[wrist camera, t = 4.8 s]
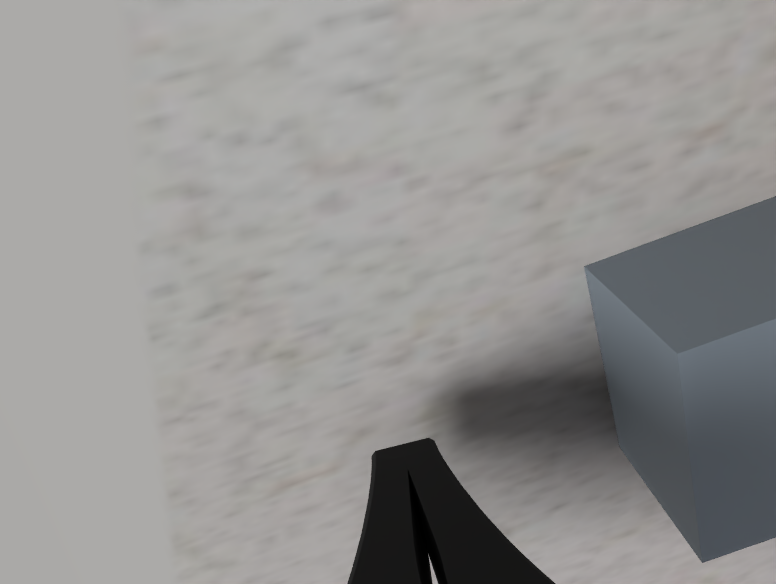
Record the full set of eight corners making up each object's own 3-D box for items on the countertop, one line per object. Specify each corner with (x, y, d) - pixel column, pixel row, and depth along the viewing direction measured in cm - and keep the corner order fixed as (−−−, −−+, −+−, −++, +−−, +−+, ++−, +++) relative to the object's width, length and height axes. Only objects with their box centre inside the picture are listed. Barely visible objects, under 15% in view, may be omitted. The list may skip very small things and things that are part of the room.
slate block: (785, 383, 17) (918, 488, 13) (616, 443, 17) (702, 562, 13) (783, 190, 14) (950, 255, 10) (581, 263, 14) (677, 354, 10)
